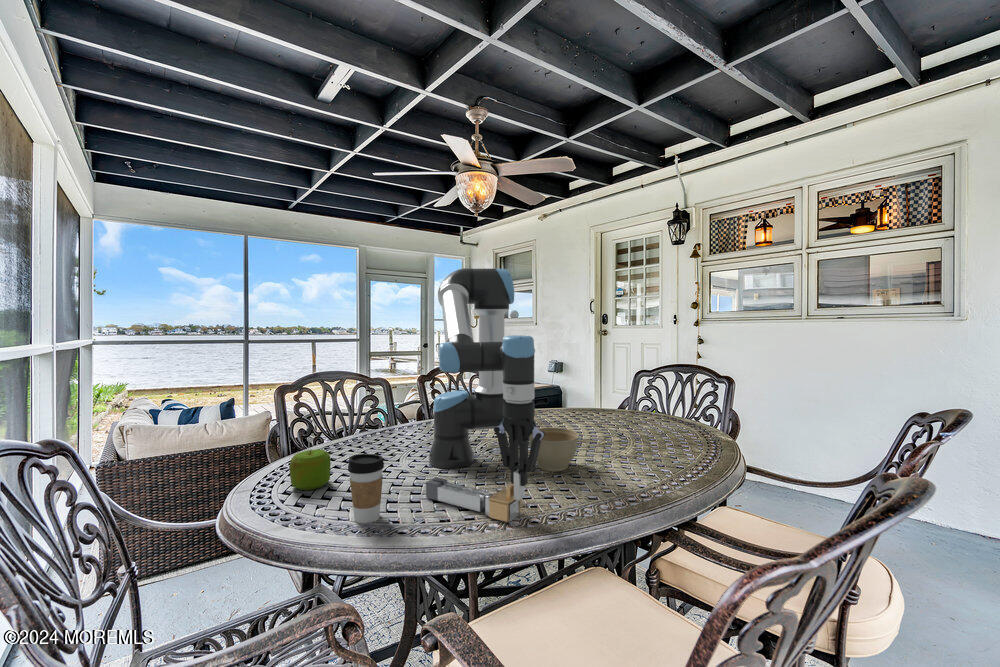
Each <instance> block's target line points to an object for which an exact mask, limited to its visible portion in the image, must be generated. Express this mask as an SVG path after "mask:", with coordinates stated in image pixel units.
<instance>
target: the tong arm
mask: <svg viewBox="0 0 1000 667" xmlns="http://www.w3.org/2000/svg"><path fill="white" fill-rule="evenodd" d="M431 480H433V481H437V482H441V483H442V485H444V486H449V487H453V488H457V489H461V490H465V491H469V492H473V493H477V494H481V495H484V509H485V495H487V494H490V491H488V490H487V491H486V490H483V489H479V488H473V487H472V486H466V485H461V484H457V483H453V482H449V481H448V479H445V478H440V477H437V476H436V477H434V478H431Z"/></svg>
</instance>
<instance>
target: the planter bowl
mask: <svg viewBox="0 0 1000 667" xmlns="http://www.w3.org/2000/svg"><path fill="white" fill-rule="evenodd" d="M537 429H538V430H539V431H544V432H545V436H544V437H543V439H542V440H541V444H540V448H539V452H538V457H537V461H536V463H537V466H538V468H539V469H541V470H543V471H547V472H562V471H565V470H567V469H568V468H569V464H570V463H571V461H572V460H573V458H574V457H575V455H576V452H577V449H578V443H579V442H578V440H579V434H578V432H576V431H575V430H571V429H568V428H562V427H539V428H537ZM533 439H534V438H533V432H532V434H531V435H530V437H529V442H528V446H529V448H531V444H532V441H533Z"/></svg>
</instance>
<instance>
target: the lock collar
mask: <svg viewBox="0 0 1000 667" xmlns="http://www.w3.org/2000/svg"><path fill="white" fill-rule="evenodd" d="M495 493H496V494H494V493H493V494H494V495H493V496H491V497H490V498H489V516H488V517H489V518H490V519H494V520H497V521H498V520H499V521H502V522H505V523H508V522H510V521H509V504H510V503H511V502H513V501H514V500H515V499H514V484H511V483H510V484H508V485H507V486H506V487H505V488H502V489H500V490H498V492H495ZM521 512H522V499H521V500H519V513H521Z"/></svg>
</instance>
